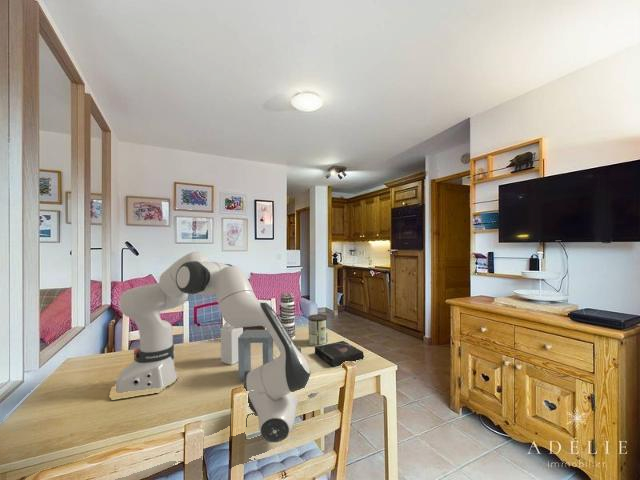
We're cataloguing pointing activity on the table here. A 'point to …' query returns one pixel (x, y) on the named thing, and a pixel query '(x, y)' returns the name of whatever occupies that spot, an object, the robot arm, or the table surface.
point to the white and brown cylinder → (288, 313)
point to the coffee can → (317, 330)
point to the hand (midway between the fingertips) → (290, 374)
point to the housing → (245, 349)
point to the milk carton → (230, 343)
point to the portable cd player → (338, 353)
